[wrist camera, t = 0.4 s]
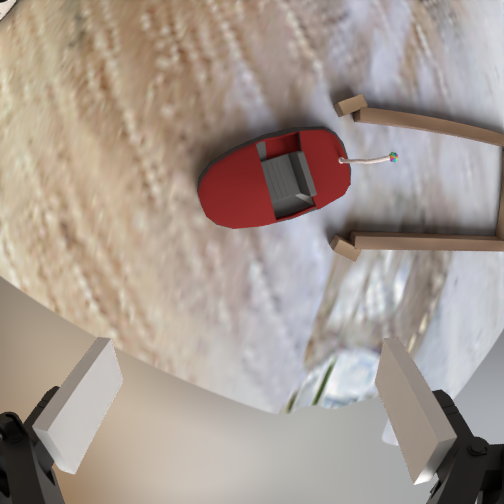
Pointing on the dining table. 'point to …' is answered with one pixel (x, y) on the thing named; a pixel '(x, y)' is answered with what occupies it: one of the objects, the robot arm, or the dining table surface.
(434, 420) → the robot arm
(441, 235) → the cradle
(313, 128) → the bumper car
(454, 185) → the dining table surface
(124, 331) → the dining table surface
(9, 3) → the milk container
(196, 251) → the dining table surface
